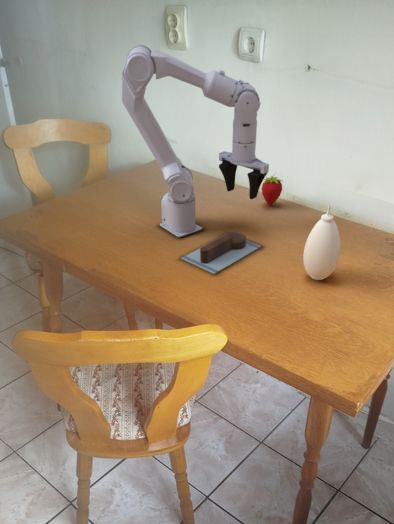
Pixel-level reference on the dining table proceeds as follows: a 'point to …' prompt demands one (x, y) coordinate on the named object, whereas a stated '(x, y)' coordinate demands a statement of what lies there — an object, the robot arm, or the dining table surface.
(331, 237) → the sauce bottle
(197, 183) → the dining table surface
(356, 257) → the dining table surface
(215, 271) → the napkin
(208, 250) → the spoon
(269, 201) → the strawberry
